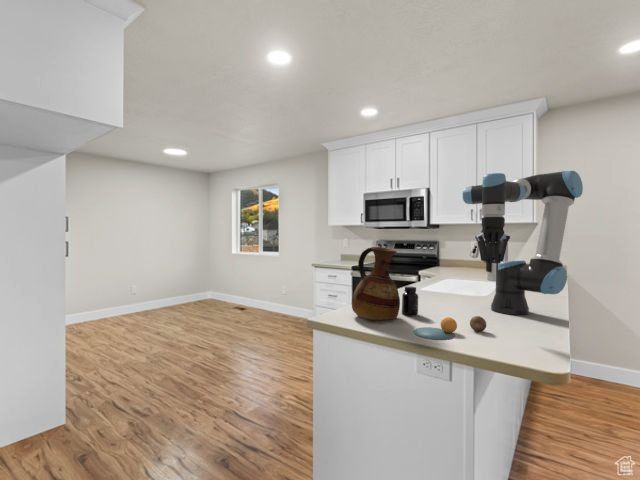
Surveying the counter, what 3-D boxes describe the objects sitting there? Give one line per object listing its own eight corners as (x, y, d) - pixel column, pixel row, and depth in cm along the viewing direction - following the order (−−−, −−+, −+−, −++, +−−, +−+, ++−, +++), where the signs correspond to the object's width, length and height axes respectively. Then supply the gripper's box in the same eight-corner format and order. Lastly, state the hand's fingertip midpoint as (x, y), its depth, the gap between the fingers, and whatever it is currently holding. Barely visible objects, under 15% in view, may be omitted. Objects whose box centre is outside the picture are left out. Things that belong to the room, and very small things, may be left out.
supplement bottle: (418, 316, 143) (419, 288, 143) (402, 315, 144) (402, 288, 144) (417, 312, 150) (417, 286, 149) (401, 312, 151) (401, 285, 151)
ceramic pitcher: (391, 327, 128) (392, 248, 127) (343, 320, 137) (344, 246, 136) (405, 315, 145) (406, 246, 144) (361, 310, 154) (362, 245, 154)
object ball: (446, 312, 124) (435, 321, 123) (455, 316, 118) (443, 325, 118) (454, 324, 124) (442, 333, 124) (462, 328, 119) (451, 338, 118)
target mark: (440, 327, 128) (440, 326, 128) (462, 338, 114) (462, 338, 114) (406, 328, 125) (406, 328, 125) (424, 341, 112) (424, 340, 112)
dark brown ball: (468, 313, 125) (464, 327, 125) (479, 317, 119) (475, 332, 119) (480, 316, 126) (477, 330, 126) (491, 320, 121) (487, 335, 121)
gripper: (484, 215, 118) (482, 282, 119) (516, 216, 120) (514, 281, 121) (470, 216, 125) (469, 279, 126) (501, 217, 128) (500, 278, 128)
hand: (491, 280), depth 124 cm, fingers closed
